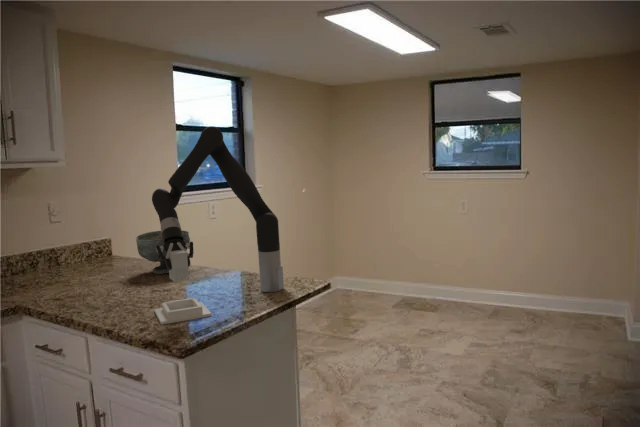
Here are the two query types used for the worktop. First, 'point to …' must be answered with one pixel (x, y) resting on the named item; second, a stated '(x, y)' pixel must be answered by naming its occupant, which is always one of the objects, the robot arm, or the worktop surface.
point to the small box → (178, 266)
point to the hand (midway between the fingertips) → (179, 267)
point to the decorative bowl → (148, 248)
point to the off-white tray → (181, 311)
